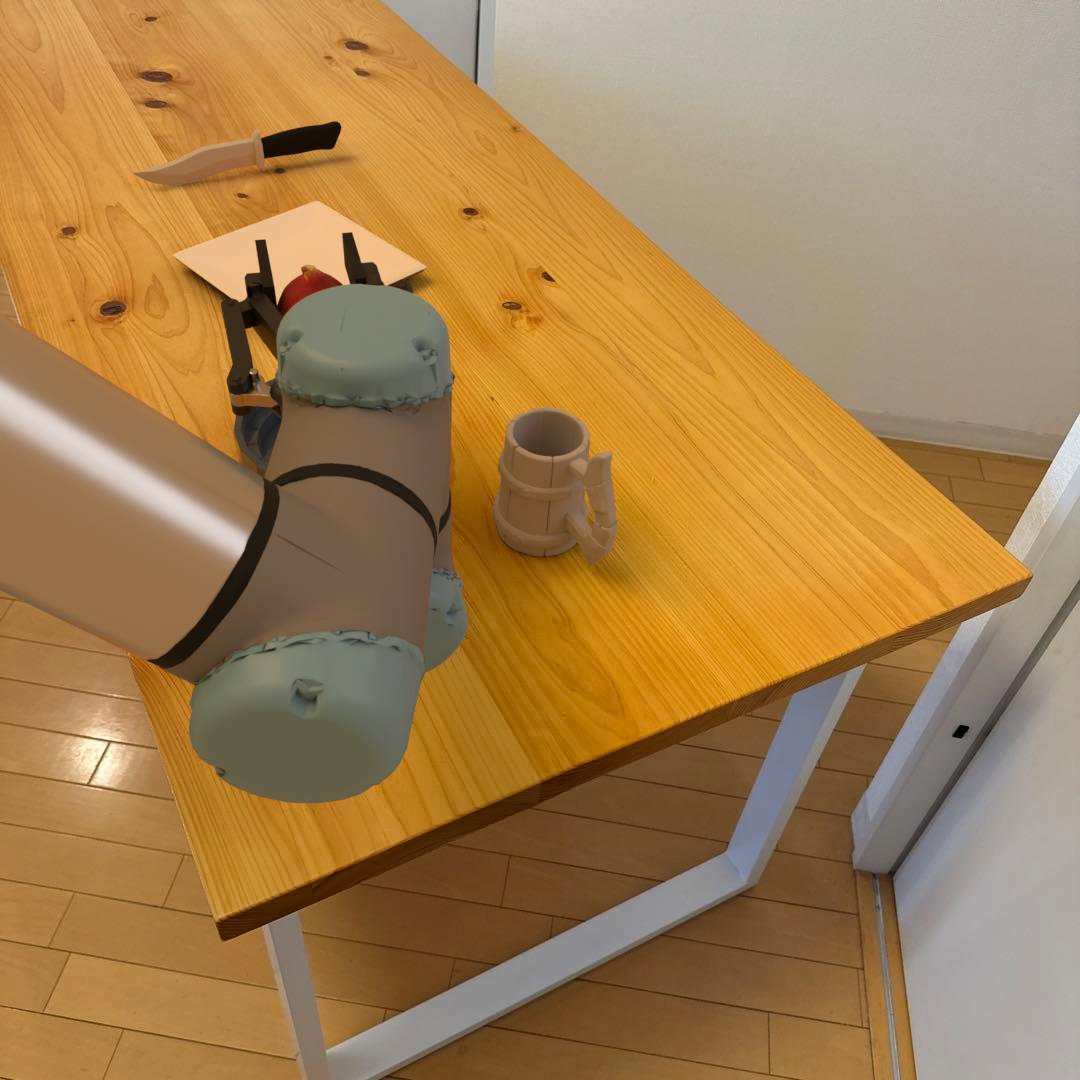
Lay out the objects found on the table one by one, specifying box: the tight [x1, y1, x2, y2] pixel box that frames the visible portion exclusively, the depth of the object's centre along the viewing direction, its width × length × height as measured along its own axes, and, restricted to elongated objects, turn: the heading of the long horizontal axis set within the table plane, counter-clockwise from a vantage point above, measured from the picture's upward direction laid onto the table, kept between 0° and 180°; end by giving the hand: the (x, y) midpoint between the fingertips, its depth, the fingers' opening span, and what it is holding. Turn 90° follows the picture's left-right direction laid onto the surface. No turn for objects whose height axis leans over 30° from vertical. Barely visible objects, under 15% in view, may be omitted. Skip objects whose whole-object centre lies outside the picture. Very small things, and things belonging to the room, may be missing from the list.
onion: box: [277, 264, 343, 317], centre depth 73 cm, size 6×6×8 cm
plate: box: [172, 200, 427, 304], centre depth 105 cm, size 19×19×2 cm
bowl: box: [233, 377, 282, 477], centre depth 85 cm, size 15×15×4 cm
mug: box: [492, 406, 619, 566], centre depth 77 cm, size 8×12×12 cm, turn 40°
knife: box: [132, 120, 342, 186], centre depth 119 cm, size 25×2×5 cm, turn 118°
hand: (305, 252), depth 75 cm, fingers closed on onion, 6 cm apart
